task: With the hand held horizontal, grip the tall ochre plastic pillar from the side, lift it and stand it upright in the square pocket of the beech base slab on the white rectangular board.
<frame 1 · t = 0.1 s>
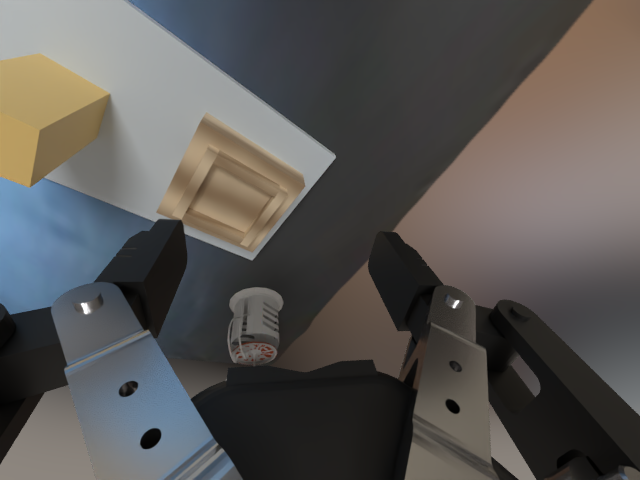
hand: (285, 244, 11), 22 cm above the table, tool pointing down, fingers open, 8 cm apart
ochre pillar: (71, 99, 24), point 1 cm above the table, touching white rectangular board
white rectangular board: (166, 145, 29), on the table
french press: (254, 300, 49), on the table
beech base slab: (234, 186, 32), resting on white rectangular board
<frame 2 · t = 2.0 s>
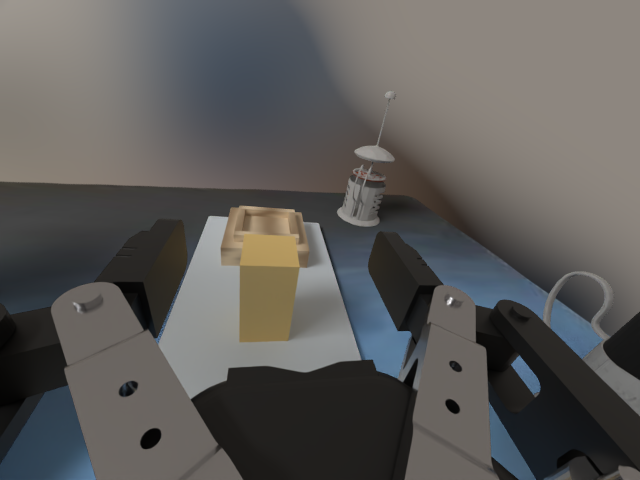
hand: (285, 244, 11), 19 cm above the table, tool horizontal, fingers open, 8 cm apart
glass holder: (553, 408, 28), on the table
ochre pillar: (264, 322, 30), point 1 cm above the table, touching white rectangular board
white rectangular board: (264, 281, 37), on the table
french press: (356, 217, 60), on the table
beech base slab: (265, 243, 43), resting on white rectangular board
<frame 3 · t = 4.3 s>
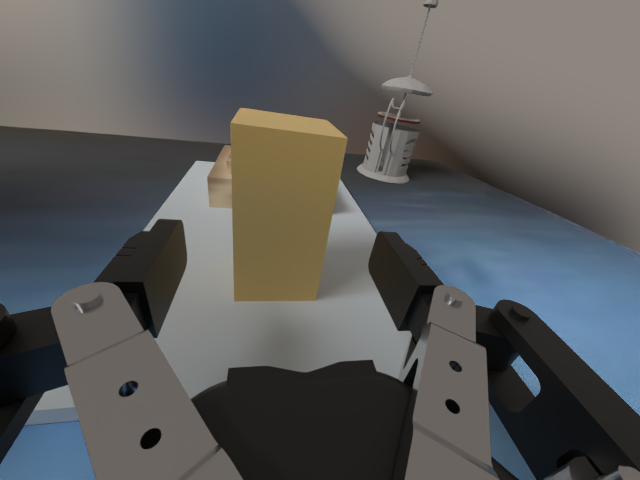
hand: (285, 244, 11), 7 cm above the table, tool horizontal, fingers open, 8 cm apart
ochre pillar: (275, 275, 19), point 1 cm above the table, touching white rectangular board
white rectangular board: (272, 229, 26), on the table
french press: (381, 175, 48), on the table
beech base slab: (271, 188, 32), resting on white rectangular board
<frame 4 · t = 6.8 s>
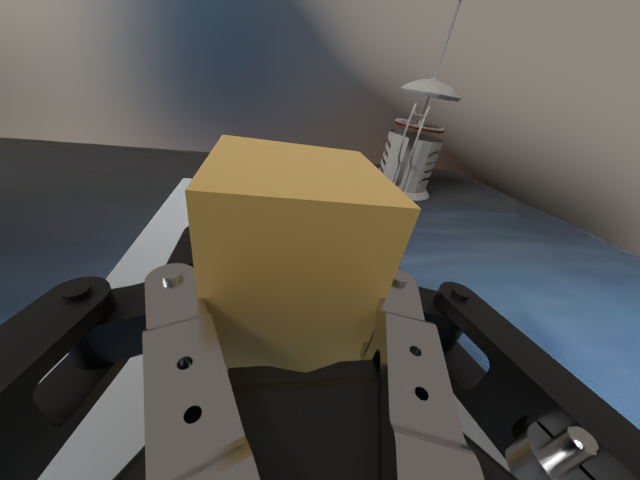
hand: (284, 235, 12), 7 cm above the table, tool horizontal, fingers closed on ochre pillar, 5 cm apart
ochre pillar: (277, 369, 13), point 1 cm above the table, touching white rectangular board, gripper
white rectangular board: (273, 277, 20), on the table
french press: (397, 190, 43), on the table
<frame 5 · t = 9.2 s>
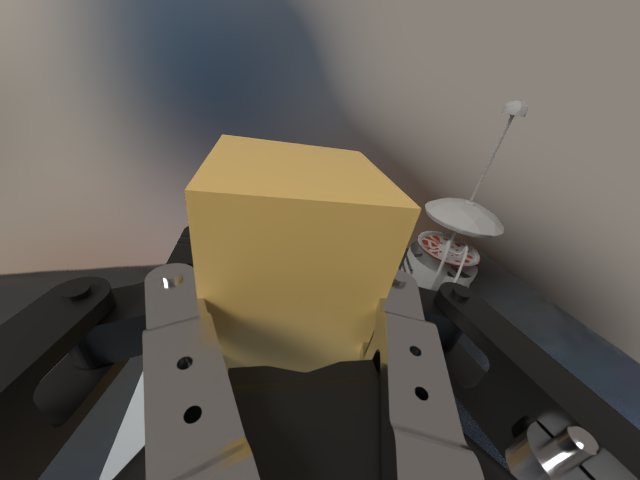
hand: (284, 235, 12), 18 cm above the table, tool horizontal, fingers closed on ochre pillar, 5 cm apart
ochre pillar: (277, 369, 13), point 12 cm above the table, touching gripper
french press: (417, 311, 35), on the table
when the fingers open (11 cm above the table, at t = 11.6 s): ochre pillar drops 1 cm, resting on beech base slab.
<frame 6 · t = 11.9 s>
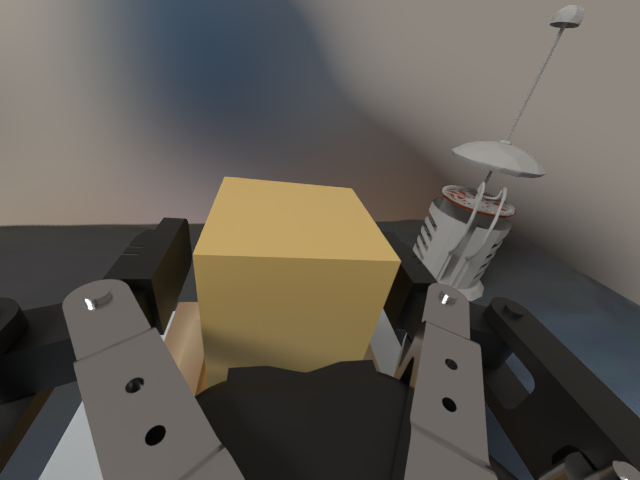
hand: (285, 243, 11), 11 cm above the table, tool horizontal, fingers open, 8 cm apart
ochre pillar: (275, 387, 14), point 4 cm above the table, touching beech base slab
french press: (439, 277, 32), on the table
beech base slab: (271, 416, 15), resting on white rectangular board
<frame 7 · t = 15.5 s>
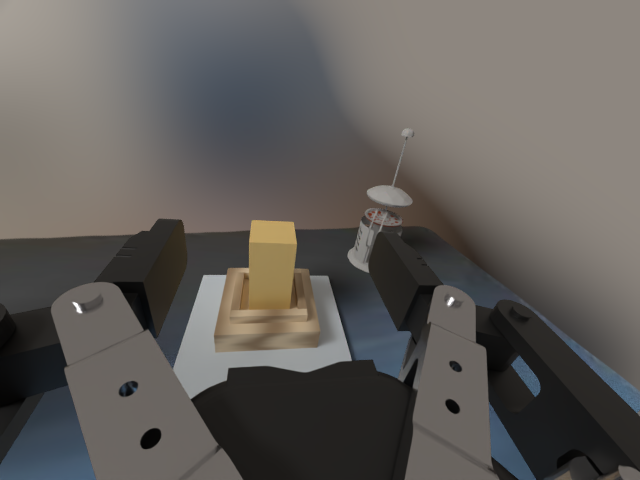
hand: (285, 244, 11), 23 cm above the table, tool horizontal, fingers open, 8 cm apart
ochre pillar: (269, 296, 35), point 4 cm above the table, touching beech base slab
white rectangular board: (267, 370, 31), on the table
french press: (369, 261, 53), on the table
beech base slab: (268, 312, 37), resting on white rectangular board
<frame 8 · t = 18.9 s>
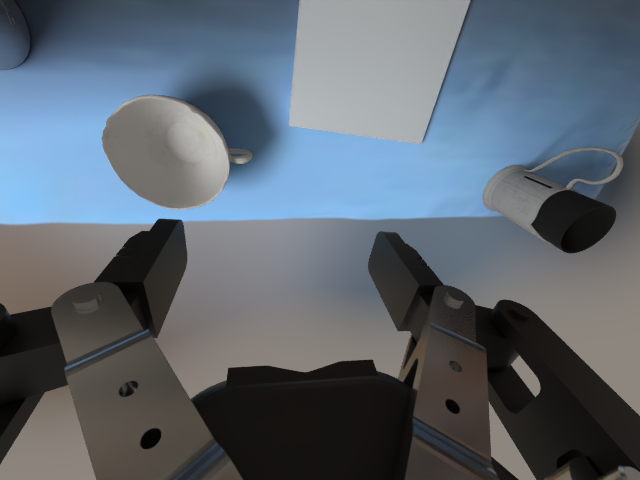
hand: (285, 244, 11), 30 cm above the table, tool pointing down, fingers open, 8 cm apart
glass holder: (512, 173, 47), on the table
teacup: (197, 143, 36), on the table
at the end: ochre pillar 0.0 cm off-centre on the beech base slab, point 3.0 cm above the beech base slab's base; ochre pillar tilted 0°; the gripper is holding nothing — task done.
